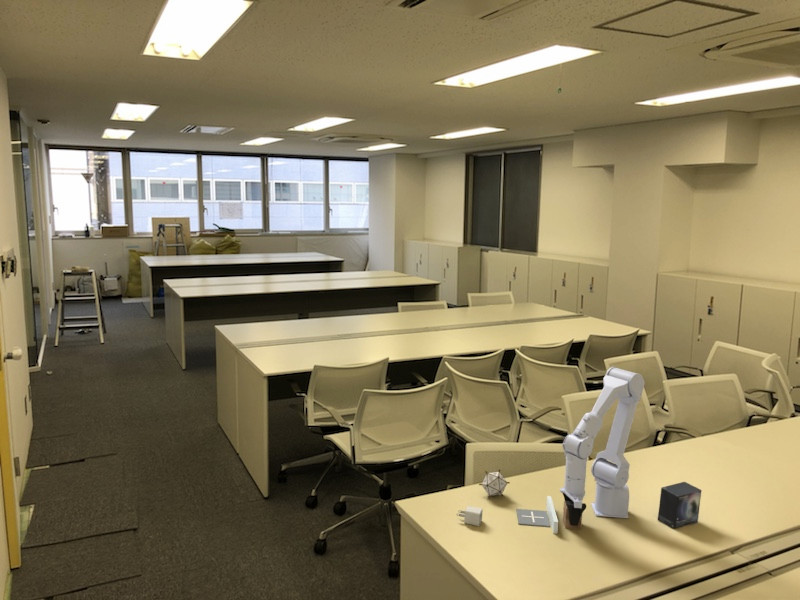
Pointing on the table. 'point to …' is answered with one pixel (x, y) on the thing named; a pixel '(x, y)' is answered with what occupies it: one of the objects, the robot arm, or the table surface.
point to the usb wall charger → (472, 515)
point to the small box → (679, 505)
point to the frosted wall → (552, 515)
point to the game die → (494, 483)
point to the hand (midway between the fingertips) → (572, 519)
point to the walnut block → (566, 519)
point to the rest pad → (532, 517)
